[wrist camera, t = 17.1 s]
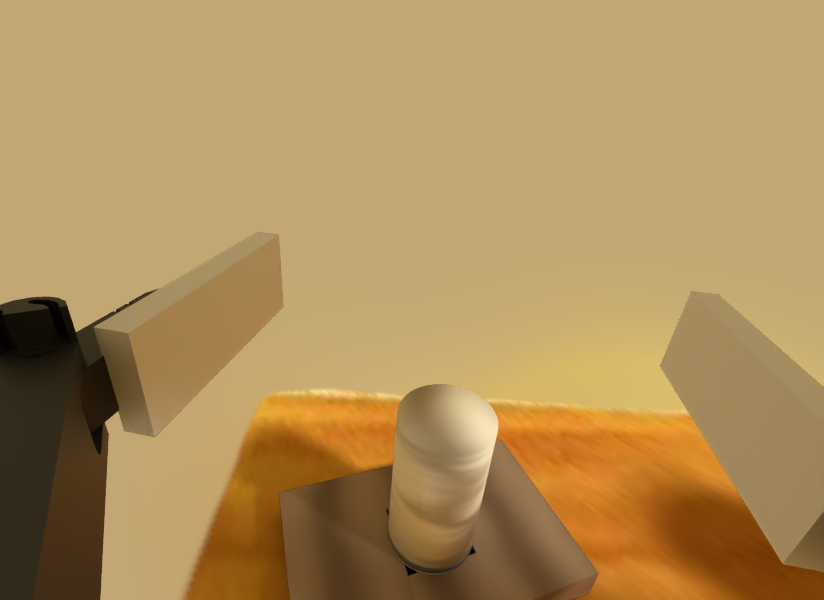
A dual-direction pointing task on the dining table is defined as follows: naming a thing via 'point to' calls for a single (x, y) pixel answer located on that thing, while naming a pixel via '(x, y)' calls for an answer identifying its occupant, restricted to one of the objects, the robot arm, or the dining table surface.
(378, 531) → the walnut board
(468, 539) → the ash leg
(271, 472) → the dining table surface
